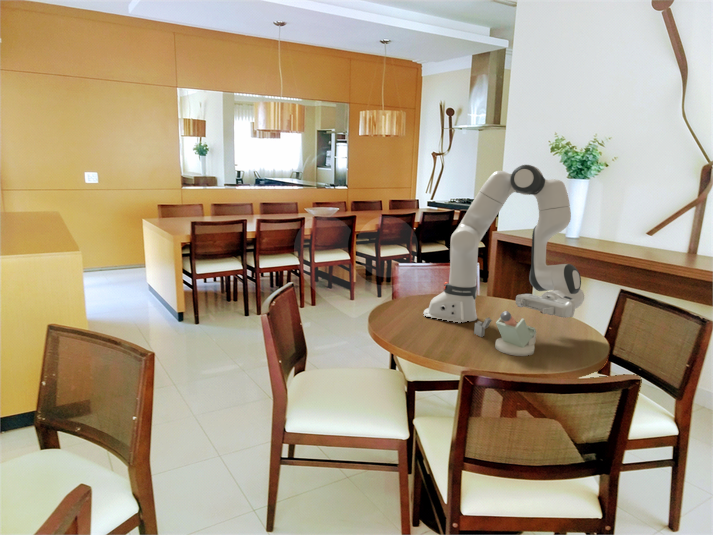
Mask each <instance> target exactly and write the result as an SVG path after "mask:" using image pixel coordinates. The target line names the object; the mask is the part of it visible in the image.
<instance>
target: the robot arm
mask: <svg viewBox="0 0 713 535" xmlns="http://www.w3.org/2000/svg"><path fill="white" fill-rule="evenodd" d="M513 193H516V194H520V195H526V196H527V195H528V196H530V195H531V196H534V197H535V199H536V201H537V206H538V207H537V210H538V220H537V223H536V225H535V226H534V227H533V230H532V236H531V258H530V259H531V265H530V269H529V270H530V271H529V283H530V285H531V286H532V287H533V289H534V290H536V291H538V292H544V293H542V294H541V296H540V295H536V294H532V293H522V294H517V295H516V296H515V304H516V306H517V307H518V308H528V309H530V310H534V311H539V313H540V314H542V315H549V316H556V317H559V318H563V319H564V318H572V317H575V316H574V315H575V311H576V309H578V308H579V307H581V306H582V304H583V303H584V301H585V293H584V291H583V290H582V288H581V286H582V278H581V274H580V271H579V270H578V269H577V268H576V266H575V265H573V264H571V263H561V264H550V265H548V264H547V261H546V260H547V244H548V242H549V240H550V239H552V238H553V237H554V236H555V235H558V234H559V233H561V232H562V231H564V230H565V229H566V228H567V227H568V225H570V222H571V219H572V218H571V217H572V212H571V205H570V204H571V203H570V199H569V195H568V191H567V188H566V185H565V183H564V182H563V181H562V180H560V179H556V178H555V179H554V178H552V179H546V178H545V177H544V175H543V173H542V172H541V170H540V169H539V168H538V167H536V166H534V165H532V164H522V165H519V166H517V167H516V168H514V169H513V170H512V172H511V173H509V172H507V171H504V170H495V171H494V172H492V173H491V175H490V176H489V177H488V178H487V179H486V181H484V183H483V184H482V186H481V187H480V189H479V191H478V192H477V194H476V195H475V197H474V199H473V201H472V202H471V203H470V205H469V207H468V209H467V210H466V213H465V214H464V216H463V218H462V219H461V221H460V223H459V224H458V226H457V227H456V229H455V230H454V231H453V233H452V234H451V236H450V244H449V245H450V246H449V247H450V248H449V260H450V261H449V263H450V264H449V276H448V277H449V278H448V281H445V282H444V283H443V291H442V292H441V293H439V294H437V295H436V296H434V297H433V298H432V299H431V300H430V302H429V306H428V307H427V308H425V309H424V310H423V313H422V315H423V314H424V315H423V317H425V316H426V317H431V318H430V319H432V318H437V319H436V320H438V319H442V320H441V321H443V320H447V321H446V322H449V321H453V322H452V323H455V322H458V323H457V324H461V322H462V323H465V322H467V321H469V322H474V321H476V320H478V315H477V310H476V299H477V291H478V286H477V275H478V260H479V258H478V256H479V244H480V242H481V241H482V240H483V238H484V236H485V235H486V232H488V230H489V228H490V226H491V225H492V224H493V222H494V221H495V219H496V217H497V215H498V214H499V213H500V211H501V210H502V208H503V206H504V205H505V203H506V202H507V200H508V198H510V196H511V195H512V194H513ZM426 317H425V318H426ZM467 323H468V322H467Z"/></svg>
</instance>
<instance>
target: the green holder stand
mask: <svg viewBox="0 0 713 535" xmlns="http://www.w3.org/2000/svg"><path fill="white" fill-rule="evenodd" d="M516 322H517V321H516ZM495 324H496V327H497V330H498V331H499V334H500V336H501V337H499V338H497V339H495V343H494V344H495V347H494V348H495V349H496V350H497V351H499V352H500V353H503V354H506V355H509V356H516V357H527V356H528V355H529V356H532V355H534V354H535V349H536V348H535V344H536V339H537V329H536V328H535V327H534V326H530V325H527V323H526V320H525V318H523V317H522V318H521V319H520V321H518V322H517V325H516V326H515V327H514V326H511V325H508V324H505V322H504V321H503V320H502V319H501V317H499V318H498V319H497V320H496V322H495Z"/></svg>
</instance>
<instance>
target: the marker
mask: <svg viewBox="0 0 713 535" xmlns="http://www.w3.org/2000/svg"><path fill="white" fill-rule="evenodd" d="M500 317H501V319H502V320H503V321H504V322H505V324H508V325H511V326H514V327H515V326H516V325H517V321H516V319H515V318H514V317H513V315H512V314H511V312H509V311H507V310H505V311H503V312H502V313H501V314H500ZM500 317H499V318H500Z"/></svg>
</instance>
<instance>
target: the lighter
mask: <svg viewBox="0 0 713 535" xmlns="http://www.w3.org/2000/svg"><path fill="white" fill-rule="evenodd" d="M492 321H493V320H492V319H491V318H490V317H486V318H485V320H484V321H483V322H482V321H480V320H477V322H474V328H473V330H474V331H473V335H475V334H476V336H477V335H478V337H480V338H484V337H485V332H486V329H488V328H489V326H490V324H491V322H492ZM483 336H484V337H483Z"/></svg>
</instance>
